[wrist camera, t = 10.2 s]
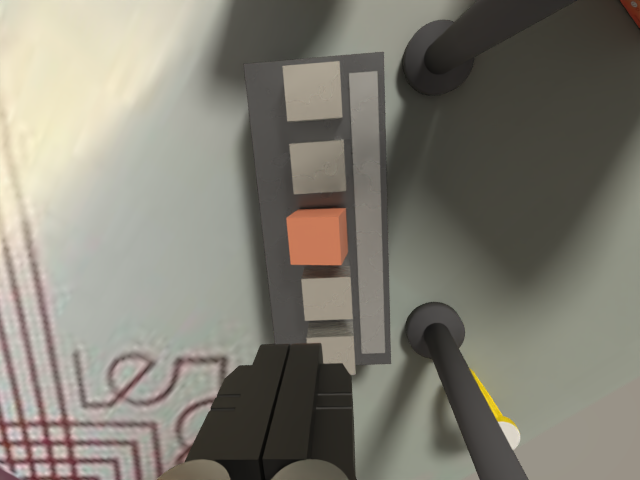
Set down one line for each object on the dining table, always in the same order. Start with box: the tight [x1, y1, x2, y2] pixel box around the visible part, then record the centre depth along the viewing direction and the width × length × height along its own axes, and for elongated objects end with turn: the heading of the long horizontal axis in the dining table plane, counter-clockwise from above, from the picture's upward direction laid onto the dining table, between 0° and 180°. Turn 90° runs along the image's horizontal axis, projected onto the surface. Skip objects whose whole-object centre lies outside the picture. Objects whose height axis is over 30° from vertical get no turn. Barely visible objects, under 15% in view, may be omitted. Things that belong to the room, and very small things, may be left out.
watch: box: [470, 369, 520, 450], centre depth 30 cm, size 6×3×6 cm, turn 35°
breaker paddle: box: [286, 208, 348, 265], centre depth 23 cm, size 3×3×2 cm
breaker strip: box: [244, 52, 391, 375], centre depth 26 cm, size 8×20×7 cm, turn 4°
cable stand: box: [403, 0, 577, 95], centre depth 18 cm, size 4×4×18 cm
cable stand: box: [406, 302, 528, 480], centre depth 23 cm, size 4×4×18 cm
